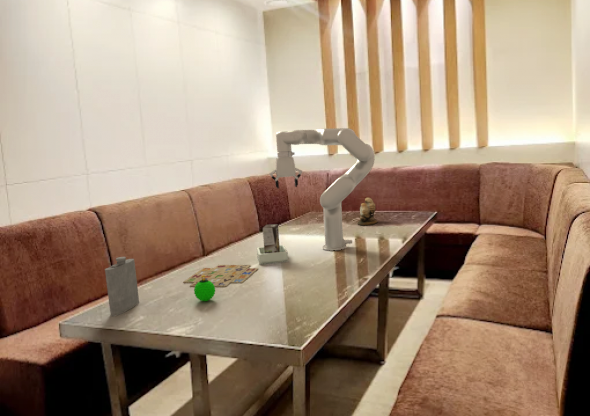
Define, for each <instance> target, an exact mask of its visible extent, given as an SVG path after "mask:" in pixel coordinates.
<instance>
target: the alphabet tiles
mask: <svg viewBox="0 0 590 416" xmlns="http://www.w3.org/2000/svg"><path fill="white" fill-rule="evenodd" d="M258 270H259V268H258V267H251V264H218V265H216V266H215V267H203V268H201V269H199V270H198V271H196V273H194V274H192V275H191V276H190V277H187V279H185V280H184V281H183V282H182V283H183V284H189V287H190V288H194V287H195V285H196V284H197V283H198V282H199V281H200V280H202V279H204V278H205V279H207V280H208V281H211V282H212V283H213V285H214V287H215V288H226V287H227V286H229V285H230V284H243V283H245V281H246V280H248V279H249V278H251V276H253V274H255V272H257V271H258ZM202 275H205V277H203V278H202V277H201V276H202Z"/></svg>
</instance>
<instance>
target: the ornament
mask: <svg viewBox="0 0 590 416" xmlns="http://www.w3.org/2000/svg"><path fill="white" fill-rule="evenodd" d="M201 277H202V278H203V277H205V275H202V276H201ZM193 288H194V290H193V291H194V292H193V294H194V296H195V298H197V299H198V301H201V302H208V301H210V300H211V299H213V297H214V296H215V294H216V293H215V292H216V287H214V285H213V283H212V282H211V281H208V280H207V279H205V278H204V279H202V280H200V281H199V282H198V283H197V284H196V285H195V287H193Z"/></svg>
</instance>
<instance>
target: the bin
mask: <svg viewBox="0 0 590 416" xmlns="http://www.w3.org/2000/svg"><path fill="white" fill-rule="evenodd" d="M256 255H257V257H256V258H257V261H258V264H259V266H261V265H270V264H271V265H272V264H280V263H289V254H288V250H287V248H286V247H285V244H280V252H276V253H266V254H265V253H264V246H259V247H256Z"/></svg>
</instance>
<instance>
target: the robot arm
mask: <svg viewBox="0 0 590 416" xmlns="http://www.w3.org/2000/svg"><path fill="white" fill-rule="evenodd" d="M275 139H276V151H277V152H276V153H277V158H276V159H275V169H274V170H273V171H271V172H269V176H270V177H271V178H272V179H273V180H274V182H275V188H276V189H277V190H278V189H280V185H279V184H280V183H279V179H280V178H289V177H293V179H294V187H295V188H298V186H299V178H300V177H301V175H302V174H303V170H301V169H299V168H297V167H296V164H295V163H296V162H295V159H294V157H293V156H295V155H296V154H295V152H294V151H292V145H294V146H296V145H297V146H298V145H320V146H342V147H343V148H344V150H346V151H347V152H348V153H349V154H350V155H352V156H353V158H355V159H356V162H355V163H354V164H353V165H352V166H351V167H349V169H348V170H347V171H346V172H345V173H343V174H342V175H340V176H339V177H338V178H337V179H336V180H335V181H333V182H332V184H331V185H330V186H329V187H328V188H327V189H326V190H324V191H323V192H322V194H321V195H320V197H319V203H320V206H321V207H322V208H323V210H322V211H323V212H322V213H323V226H324V227H323V228H324V229H323V231H324V244H323V245H322V249H323V250H324V251H329V250H330V251H331V252H333V250H335V251H341V249H342V250H345V249H346V248H347V245H348V244H349V245H350V244H353V240H352V239H344V233H343V214H342V213H343V211H342V202H343V201H344V200H345V199H346V198H347V197H348V196H349V195H350V194H351V193H352V192H353V191H354V190H355V188H356V187H357V185H359V183H361V182H362V181H363V180H364V179H365V178H366V176H368V174H369V173H370V172H371V170H372V168H373V167H374V164H375V152H374V150H373V147H372V146H371V145H370V144H368V143H365V142H364V141H363V140H362V139H361V138H359V137H358V135H357V134H356V132H355V130H353V129H352V128H345V127H344V128H320V129H295V130H291V131H277V132H276V133H275ZM297 172H298V174H296V173H297ZM274 174H275V175H276V176H275V175H274ZM344 248H345V249H344Z"/></svg>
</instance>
